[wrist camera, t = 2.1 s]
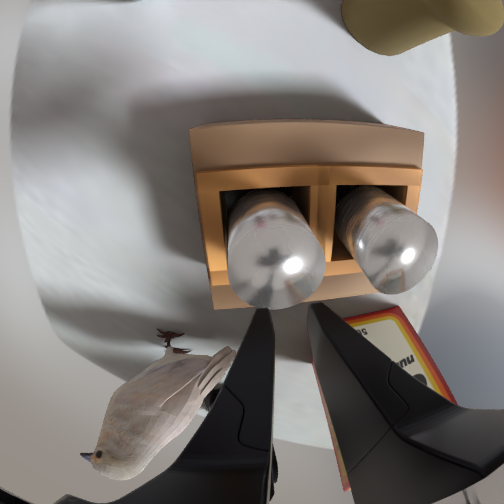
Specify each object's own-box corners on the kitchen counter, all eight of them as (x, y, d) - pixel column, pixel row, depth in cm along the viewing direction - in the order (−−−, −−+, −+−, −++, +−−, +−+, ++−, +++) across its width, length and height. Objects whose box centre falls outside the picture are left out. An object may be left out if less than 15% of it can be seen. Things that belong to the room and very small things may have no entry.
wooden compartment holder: (371, 255, 22) (400, 292, 18) (217, 268, 22) (213, 313, 17) (384, 123, 17) (428, 133, 12) (200, 124, 16) (187, 130, 12)
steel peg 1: (299, 251, 16) (321, 304, 12) (232, 257, 16) (232, 313, 12) (301, 186, 14) (329, 222, 10) (225, 191, 14) (222, 230, 10)
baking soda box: (312, 363, 29) (344, 495, 15) (314, 324, 26) (360, 481, 12) (387, 346, 29) (438, 459, 15) (398, 306, 26) (471, 432, 12)
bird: (103, 328, 25) (58, 458, 12) (231, 319, 25) (236, 484, 12) (122, 359, 27) (92, 478, 14) (239, 353, 27) (247, 494, 14)
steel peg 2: (387, 244, 17) (426, 288, 12) (331, 249, 16) (361, 299, 12) (395, 185, 15) (445, 218, 10) (335, 185, 14) (375, 220, 10)
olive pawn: (330, 29, 13) (423, -27, 4) (353, -24, 11) (435, -83, 1) (400, 70, 15) (516, 69, 5) (418, 17, 12) (519, -3, 2)
